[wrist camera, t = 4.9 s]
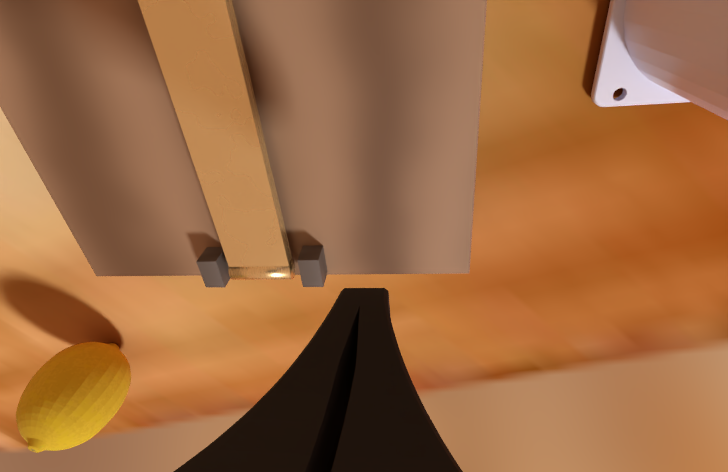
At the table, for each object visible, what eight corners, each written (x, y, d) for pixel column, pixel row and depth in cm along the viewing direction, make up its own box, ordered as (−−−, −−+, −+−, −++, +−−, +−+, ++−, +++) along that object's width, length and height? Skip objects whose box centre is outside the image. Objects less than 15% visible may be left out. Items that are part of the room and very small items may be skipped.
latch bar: (229, -24, 14) (217, -23, 13) (296, 270, 21) (291, 283, 20) (146, -15, 14) (129, -13, 13) (239, 270, 21) (232, 283, 20)
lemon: (62, 321, 30) (-38, 424, 23) (128, 315, 29) (42, 421, 22) (103, 371, 33) (25, 475, 26) (164, 367, 32) (98, 474, 25)
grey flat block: (481, -119, 14) (505, -148, 11) (463, 238, 22) (473, 295, 19) (-19, -55, 17) (-144, -59, 13) (127, 245, 25) (77, 295, 21)
